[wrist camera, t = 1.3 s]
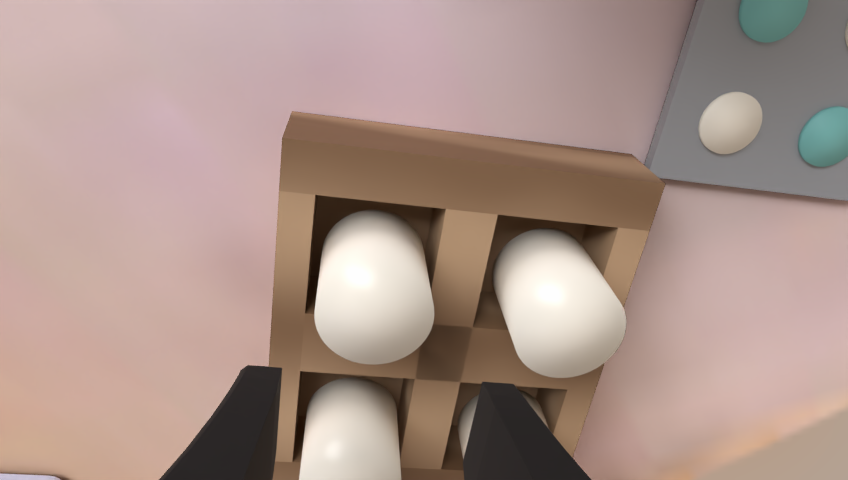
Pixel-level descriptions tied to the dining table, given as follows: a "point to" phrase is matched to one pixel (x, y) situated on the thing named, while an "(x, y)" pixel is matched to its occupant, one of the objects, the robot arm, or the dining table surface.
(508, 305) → the button near right
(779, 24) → the card
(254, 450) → the robot arm
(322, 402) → the button far left
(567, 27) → the dining table surface
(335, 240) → the button near left
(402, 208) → the board
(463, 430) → the button far right
